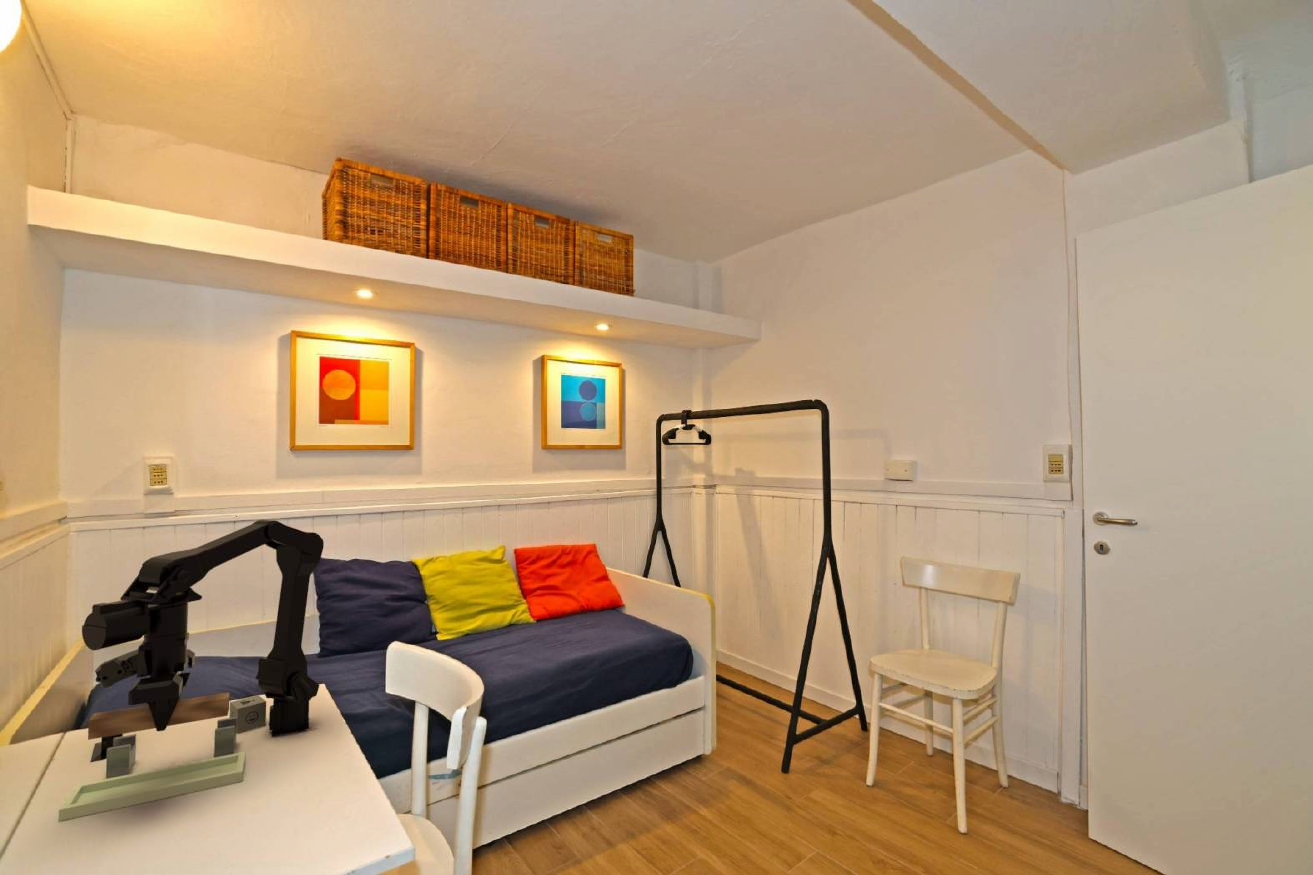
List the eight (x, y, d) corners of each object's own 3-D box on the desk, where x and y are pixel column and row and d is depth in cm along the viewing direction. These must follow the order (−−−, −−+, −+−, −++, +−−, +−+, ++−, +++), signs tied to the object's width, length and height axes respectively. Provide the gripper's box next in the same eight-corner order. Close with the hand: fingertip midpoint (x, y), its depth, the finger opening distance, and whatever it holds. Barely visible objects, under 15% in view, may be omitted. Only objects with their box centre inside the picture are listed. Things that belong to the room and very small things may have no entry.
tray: (245, 760, 111) (245, 751, 111) (242, 781, 104) (242, 771, 104) (74, 795, 99) (75, 784, 99) (58, 821, 92) (58, 809, 92)
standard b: (135, 762, 110) (136, 733, 110) (128, 775, 106) (129, 745, 106) (113, 766, 108) (114, 737, 109) (105, 779, 104) (106, 749, 104)
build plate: (135, 758, 113) (136, 733, 113) (81, 770, 108) (82, 744, 108) (137, 734, 122) (138, 710, 122) (88, 744, 118) (89, 720, 118)
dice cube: (229, 726, 125) (230, 702, 125) (257, 718, 129) (257, 694, 129) (237, 734, 122) (237, 708, 122) (265, 725, 125) (266, 701, 125)
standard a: (236, 742, 118) (236, 716, 118) (233, 754, 113) (234, 726, 113) (217, 746, 116) (217, 719, 116) (213, 758, 112) (214, 730, 112)
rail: (229, 709, 108) (229, 692, 108) (227, 715, 105) (227, 698, 105) (93, 732, 99) (94, 713, 99) (88, 739, 96) (88, 720, 96)
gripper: (116, 625, 106) (113, 715, 106) (85, 656, 90) (81, 763, 90) (196, 616, 112) (194, 703, 112) (180, 644, 96) (177, 745, 95)
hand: (163, 726), depth 102 cm, fingers closed on rail, 3 cm apart
